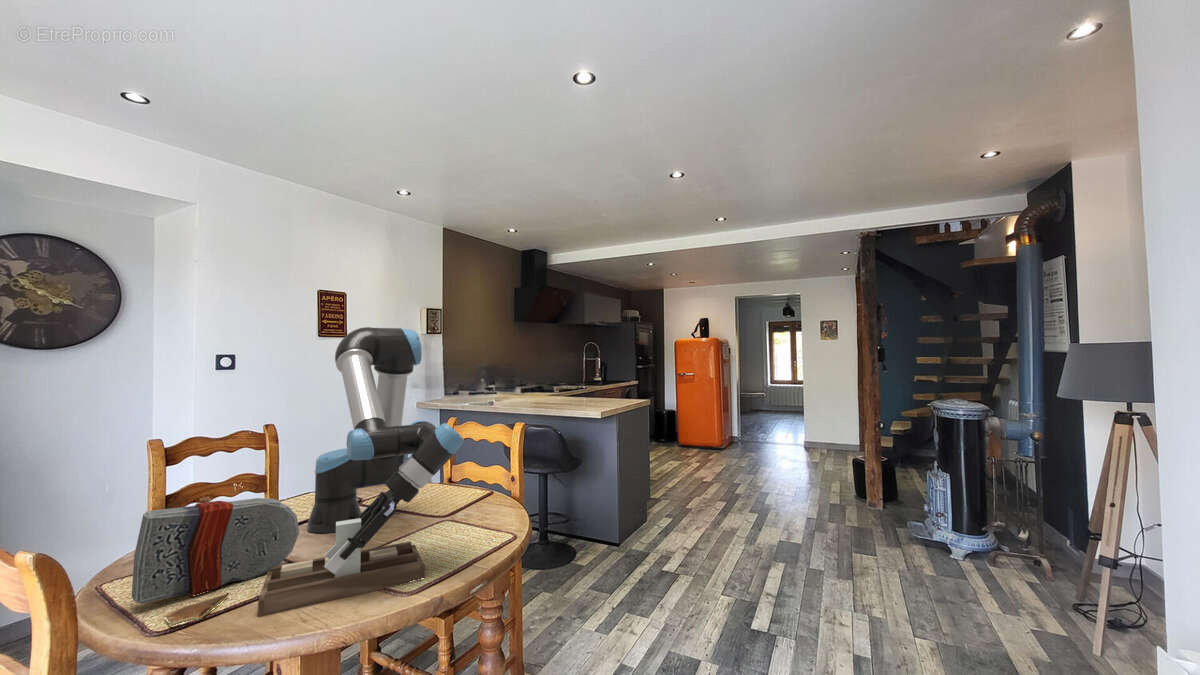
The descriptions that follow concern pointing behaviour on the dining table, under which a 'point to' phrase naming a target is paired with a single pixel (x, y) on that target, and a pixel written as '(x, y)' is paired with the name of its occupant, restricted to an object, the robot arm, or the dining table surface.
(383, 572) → the walnut rack
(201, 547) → the decorative stone tablet
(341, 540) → the tall sheet
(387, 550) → the birch offcut
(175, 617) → the shard
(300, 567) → the birch offcut
